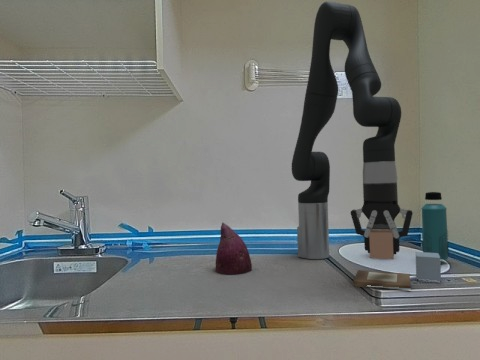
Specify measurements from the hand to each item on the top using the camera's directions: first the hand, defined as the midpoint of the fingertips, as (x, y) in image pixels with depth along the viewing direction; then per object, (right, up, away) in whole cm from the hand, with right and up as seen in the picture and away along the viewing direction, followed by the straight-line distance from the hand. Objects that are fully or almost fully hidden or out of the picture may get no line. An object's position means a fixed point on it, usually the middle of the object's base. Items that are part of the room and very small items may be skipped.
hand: (382, 252), depth 84 cm
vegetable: (-35, -8, +16) cm, 40 cm away
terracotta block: (0, -1, 0) cm, 1 cm away
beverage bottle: (+22, -6, +17) cm, 28 cm away
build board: (0, -7, 0) cm, 7 cm away
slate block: (+12, -7, +2) cm, 14 cm away
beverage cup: (+10, -7, +25) cm, 28 cm away
